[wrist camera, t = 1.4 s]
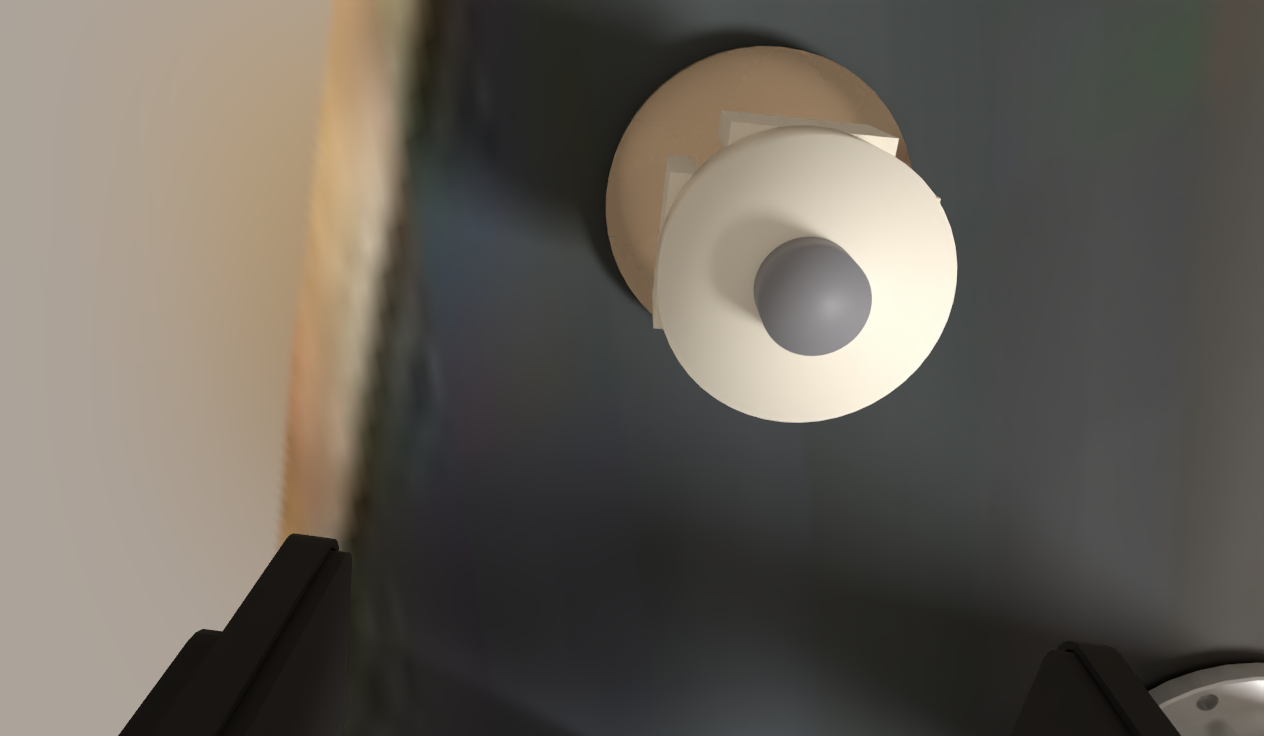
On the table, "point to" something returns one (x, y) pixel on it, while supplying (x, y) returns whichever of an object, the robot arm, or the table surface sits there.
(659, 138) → the beige piece
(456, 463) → the table surface
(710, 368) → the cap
